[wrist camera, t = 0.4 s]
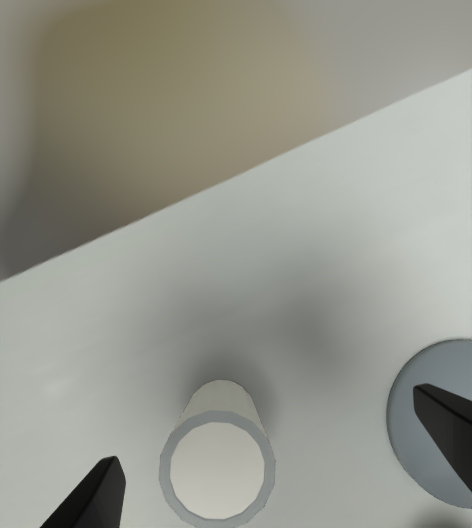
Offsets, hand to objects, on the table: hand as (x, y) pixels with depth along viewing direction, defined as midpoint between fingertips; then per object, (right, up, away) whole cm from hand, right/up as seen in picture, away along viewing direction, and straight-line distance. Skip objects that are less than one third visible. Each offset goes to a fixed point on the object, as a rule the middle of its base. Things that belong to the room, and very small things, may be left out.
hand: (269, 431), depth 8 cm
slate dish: (+18, -8, +15) cm, 25 cm away
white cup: (-2, -7, +15) cm, 17 cm away
